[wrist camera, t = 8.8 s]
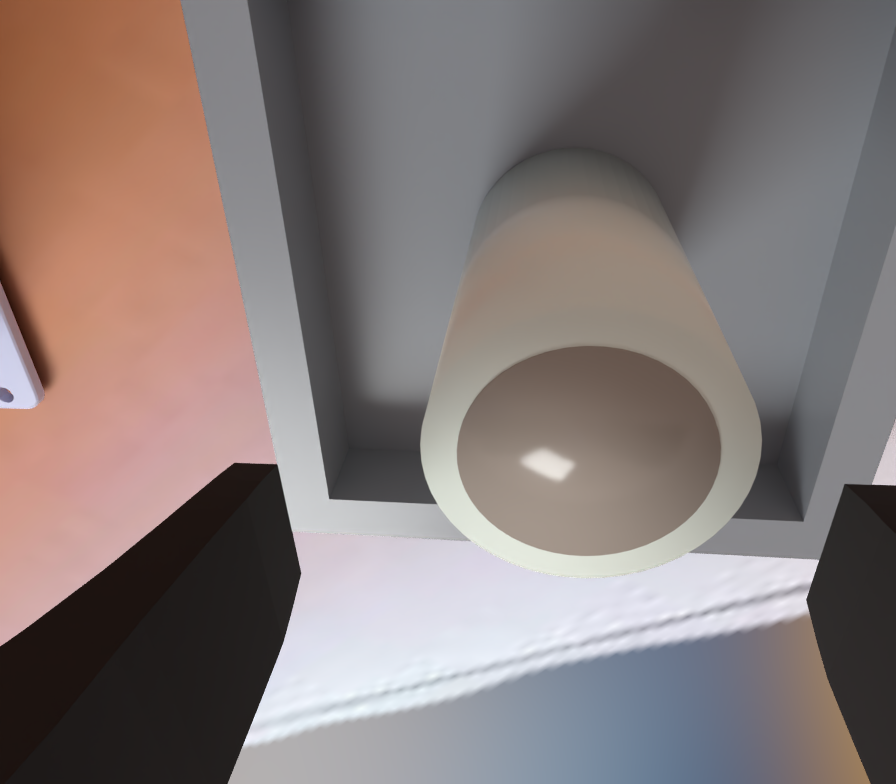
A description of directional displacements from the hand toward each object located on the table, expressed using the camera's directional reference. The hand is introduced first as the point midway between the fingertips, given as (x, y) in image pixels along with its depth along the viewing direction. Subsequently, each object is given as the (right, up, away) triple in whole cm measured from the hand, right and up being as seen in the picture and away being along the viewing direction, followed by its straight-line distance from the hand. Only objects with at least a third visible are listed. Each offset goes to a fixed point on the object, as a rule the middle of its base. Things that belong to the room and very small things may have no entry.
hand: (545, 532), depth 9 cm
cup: (+1, +5, +7) cm, 9 cm away
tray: (+2, +5, +7) cm, 9 cm away
